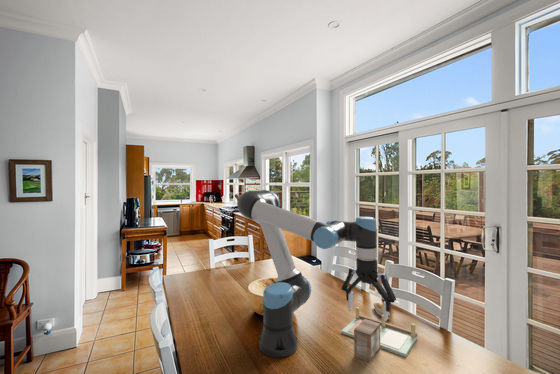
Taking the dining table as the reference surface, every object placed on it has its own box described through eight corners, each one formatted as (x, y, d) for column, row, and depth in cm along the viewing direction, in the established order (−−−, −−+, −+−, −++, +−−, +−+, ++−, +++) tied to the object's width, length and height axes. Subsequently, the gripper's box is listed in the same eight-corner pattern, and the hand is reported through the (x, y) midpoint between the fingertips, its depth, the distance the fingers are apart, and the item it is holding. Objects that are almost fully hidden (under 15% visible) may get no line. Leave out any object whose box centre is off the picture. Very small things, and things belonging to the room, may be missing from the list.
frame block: (370, 362, 98) (369, 335, 98) (354, 356, 102) (353, 329, 102) (380, 349, 106) (380, 323, 106) (365, 343, 110) (365, 319, 110)
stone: (380, 307, 142) (380, 299, 142) (393, 321, 128) (393, 311, 128) (370, 308, 142) (370, 299, 142) (382, 321, 127) (381, 312, 127)
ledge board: (417, 338, 113) (417, 323, 113) (405, 357, 101) (405, 340, 101) (357, 318, 130) (357, 305, 130) (341, 333, 118) (341, 318, 118)
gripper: (404, 261, 99) (405, 320, 99) (341, 251, 115) (342, 302, 115) (397, 266, 93) (399, 328, 93) (332, 255, 109) (333, 308, 109)
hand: (367, 314), depth 104 cm, fingers open, 13 cm apart
